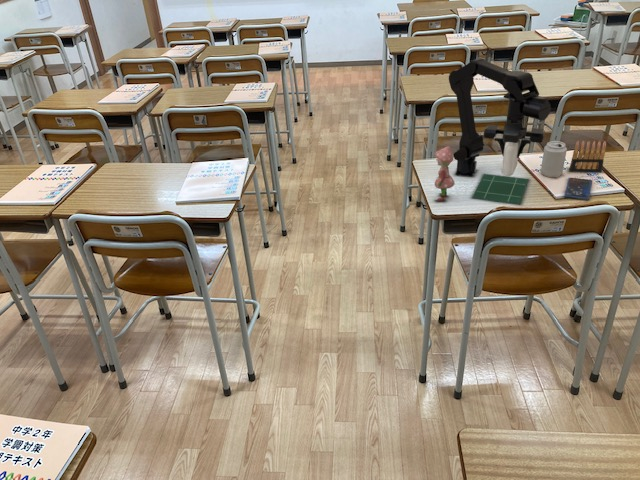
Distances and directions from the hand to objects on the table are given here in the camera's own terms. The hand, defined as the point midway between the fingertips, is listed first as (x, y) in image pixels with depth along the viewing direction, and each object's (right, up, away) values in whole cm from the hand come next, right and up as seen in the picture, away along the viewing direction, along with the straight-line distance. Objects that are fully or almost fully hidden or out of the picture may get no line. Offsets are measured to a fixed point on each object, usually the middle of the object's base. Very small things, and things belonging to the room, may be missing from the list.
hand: (510, 156), depth 168 cm
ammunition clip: (+33, -3, +13) cm, 35 cm away
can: (+20, -4, +14) cm, 25 cm away
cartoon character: (-22, -14, +6) cm, 27 cm away
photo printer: (+1, -4, +3) cm, 5 cm away
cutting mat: (-1, -10, +8) cm, 13 cm away
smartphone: (+24, -11, +2) cm, 27 cm away
